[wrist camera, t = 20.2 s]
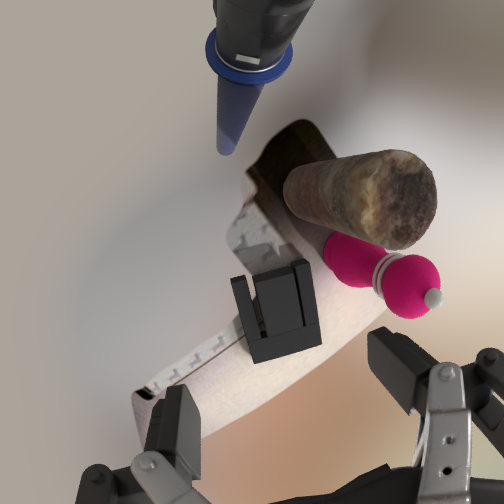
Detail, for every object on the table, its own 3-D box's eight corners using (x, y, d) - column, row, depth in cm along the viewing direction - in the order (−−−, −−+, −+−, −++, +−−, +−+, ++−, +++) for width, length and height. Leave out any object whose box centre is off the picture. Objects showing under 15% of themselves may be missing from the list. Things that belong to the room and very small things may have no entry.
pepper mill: (372, 255, 39) (471, 301, 19) (336, 285, 39) (421, 356, 19) (349, 215, 37) (454, 241, 17) (310, 247, 37) (396, 301, 18)
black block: (251, 275, 37) (254, 282, 34) (287, 266, 37) (293, 272, 34) (264, 327, 39) (267, 337, 36) (297, 317, 39) (303, 327, 36)
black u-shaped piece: (230, 278, 37) (230, 283, 35) (304, 258, 37) (309, 262, 35) (252, 357, 40) (254, 364, 38) (317, 338, 40) (322, 344, 38)
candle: (344, 201, 36) (450, 215, 17) (303, 232, 37) (389, 276, 17) (314, 154, 34) (409, 124, 15) (270, 185, 35) (335, 178, 15)
